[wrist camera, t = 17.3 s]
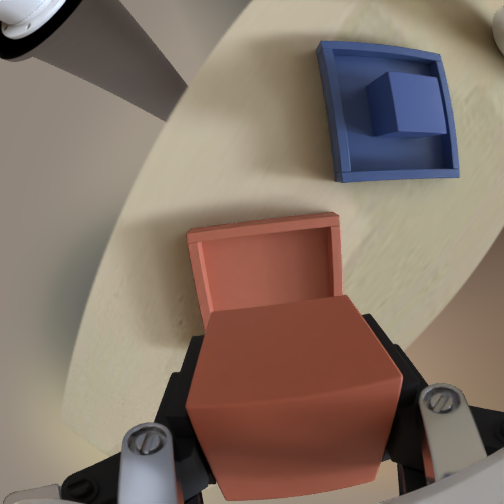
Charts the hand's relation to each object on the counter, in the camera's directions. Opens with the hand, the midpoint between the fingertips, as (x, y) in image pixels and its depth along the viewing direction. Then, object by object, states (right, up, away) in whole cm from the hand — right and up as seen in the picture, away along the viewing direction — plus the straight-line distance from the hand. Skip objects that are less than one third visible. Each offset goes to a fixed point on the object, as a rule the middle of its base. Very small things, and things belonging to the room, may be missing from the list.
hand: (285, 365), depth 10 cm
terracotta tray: (0, +1, +16) cm, 16 cm away
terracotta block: (0, 0, 0) cm, 0 cm away
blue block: (+11, +16, +11) cm, 22 cm away
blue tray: (+11, +16, +12) cm, 22 cm away
